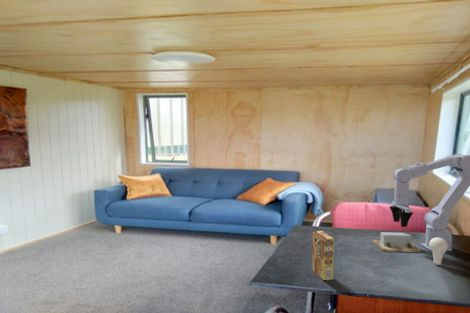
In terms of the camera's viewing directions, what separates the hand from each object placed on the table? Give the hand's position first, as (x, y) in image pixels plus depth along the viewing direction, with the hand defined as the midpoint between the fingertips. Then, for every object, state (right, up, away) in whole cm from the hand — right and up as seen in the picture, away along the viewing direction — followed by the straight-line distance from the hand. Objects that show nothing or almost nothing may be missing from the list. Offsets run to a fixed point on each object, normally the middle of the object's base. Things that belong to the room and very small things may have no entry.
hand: (400, 224), depth 144 cm
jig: (-2, -10, -1) cm, 11 cm away
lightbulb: (+4, -12, -20) cm, 24 cm away
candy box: (-44, -13, -28) cm, 54 cm away
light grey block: (-3, -9, -1) cm, 10 cm away
